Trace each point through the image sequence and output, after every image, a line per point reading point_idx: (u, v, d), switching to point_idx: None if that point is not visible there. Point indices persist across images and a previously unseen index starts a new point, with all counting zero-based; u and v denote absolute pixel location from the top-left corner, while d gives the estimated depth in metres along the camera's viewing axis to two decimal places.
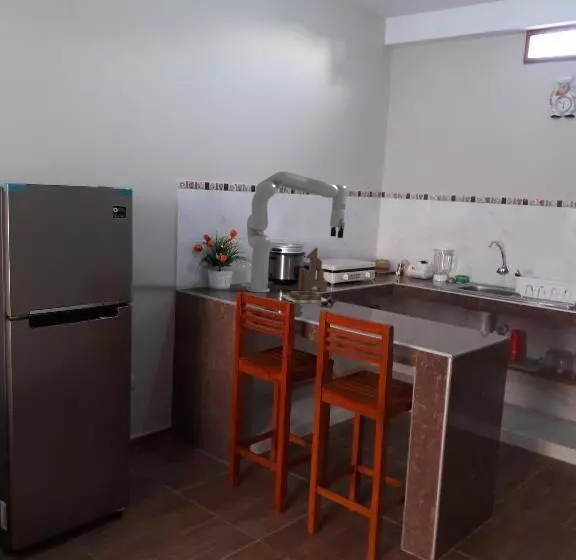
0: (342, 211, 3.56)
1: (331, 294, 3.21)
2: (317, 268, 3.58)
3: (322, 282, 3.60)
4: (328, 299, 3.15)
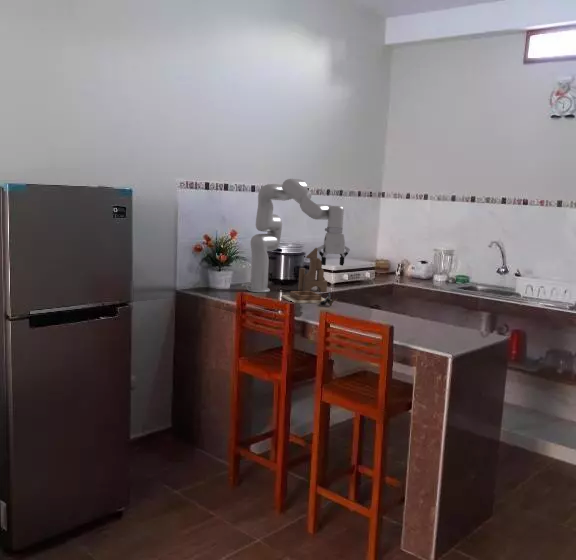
0: None
1: (329, 294, 3.23)
2: (317, 268, 3.58)
3: (322, 282, 3.60)
4: (326, 299, 3.16)
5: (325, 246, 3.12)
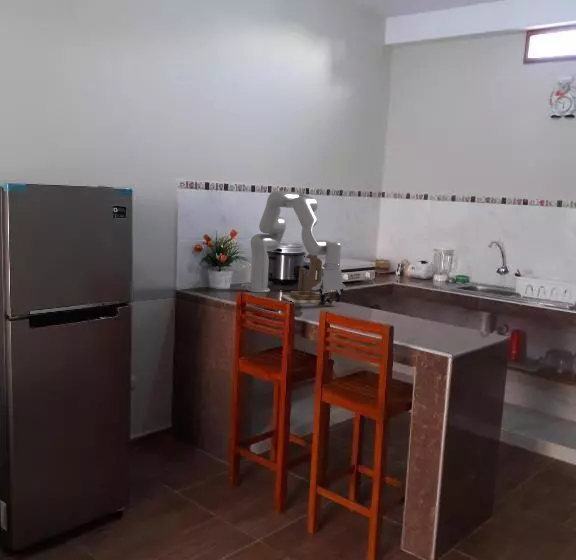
0: None
1: None
2: (317, 268, 3.58)
3: None
4: (326, 298, 3.16)
5: (322, 282, 3.14)
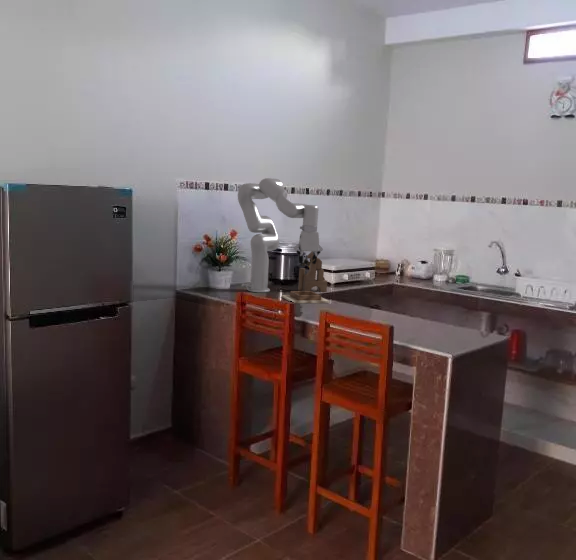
0: None
1: None
2: (317, 268, 3.58)
3: (322, 282, 3.60)
4: (304, 260, 3.27)
5: (300, 244, 3.24)
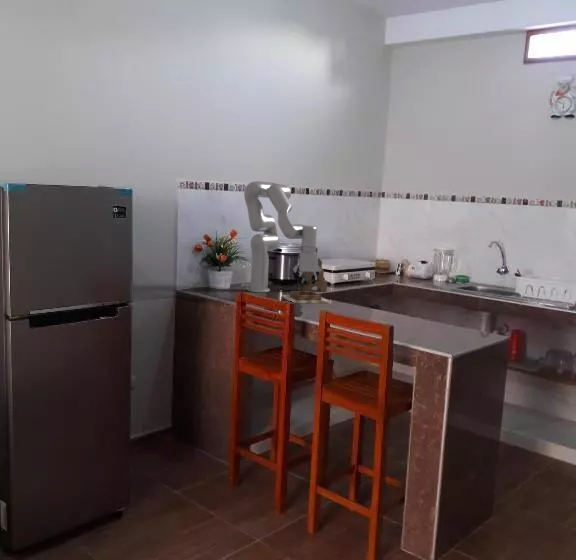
0: None
1: (306, 277, 3.35)
2: None
3: (322, 282, 3.60)
4: (303, 280, 3.28)
5: (299, 264, 3.25)
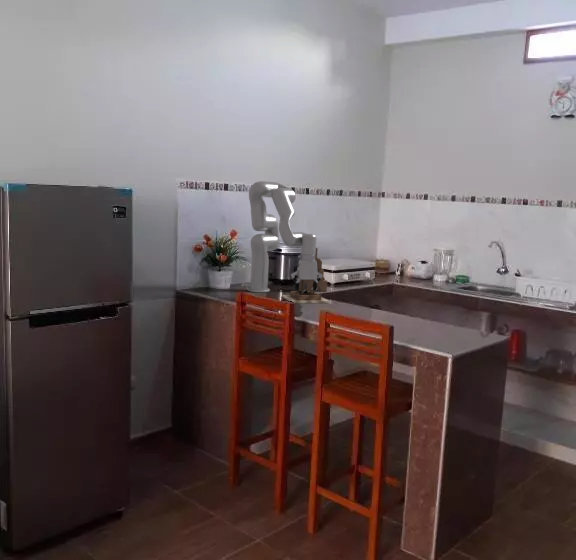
0: None
1: (307, 283, 3.34)
2: (317, 268, 3.58)
3: (322, 282, 3.60)
4: (304, 291, 3.28)
5: (298, 272, 3.26)
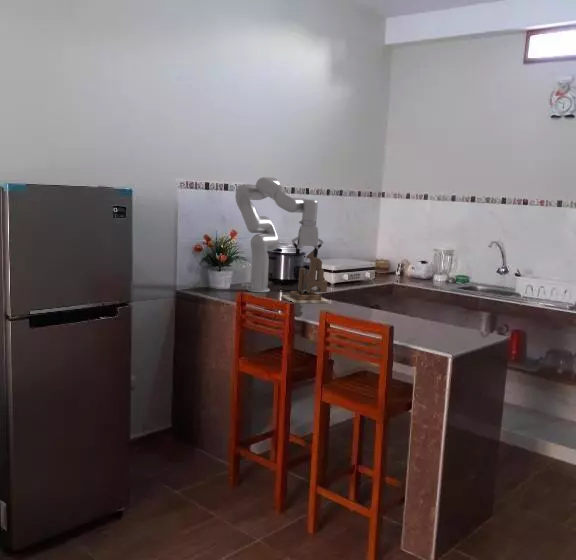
0: None
1: (307, 283, 3.34)
2: (317, 268, 3.58)
3: (322, 282, 3.60)
4: (304, 291, 3.28)
5: (299, 238, 3.25)
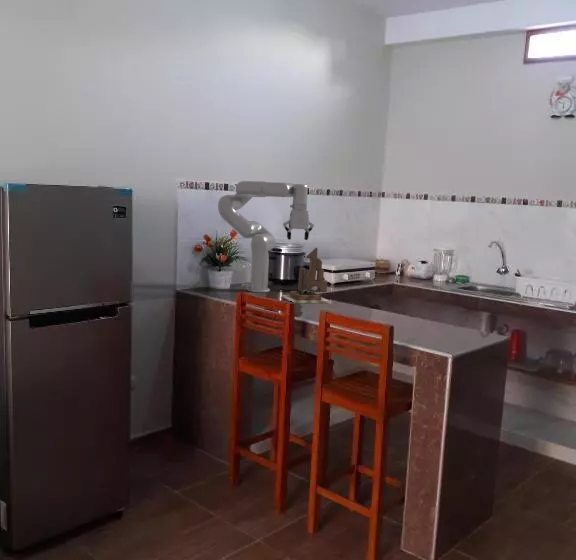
0: None
1: (307, 283, 3.34)
2: (317, 268, 3.58)
3: (322, 282, 3.60)
4: (304, 291, 3.28)
5: (290, 221, 3.35)
